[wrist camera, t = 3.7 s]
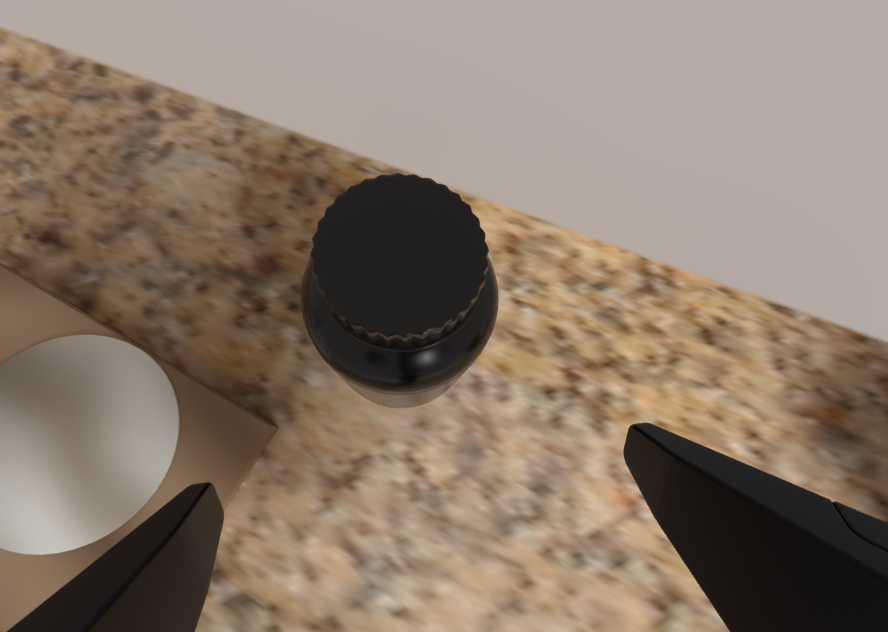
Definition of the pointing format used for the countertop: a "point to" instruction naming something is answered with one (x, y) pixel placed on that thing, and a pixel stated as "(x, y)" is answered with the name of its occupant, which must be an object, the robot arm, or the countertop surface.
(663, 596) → the countertop surface
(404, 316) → the supplement bottle
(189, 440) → the walnut board
